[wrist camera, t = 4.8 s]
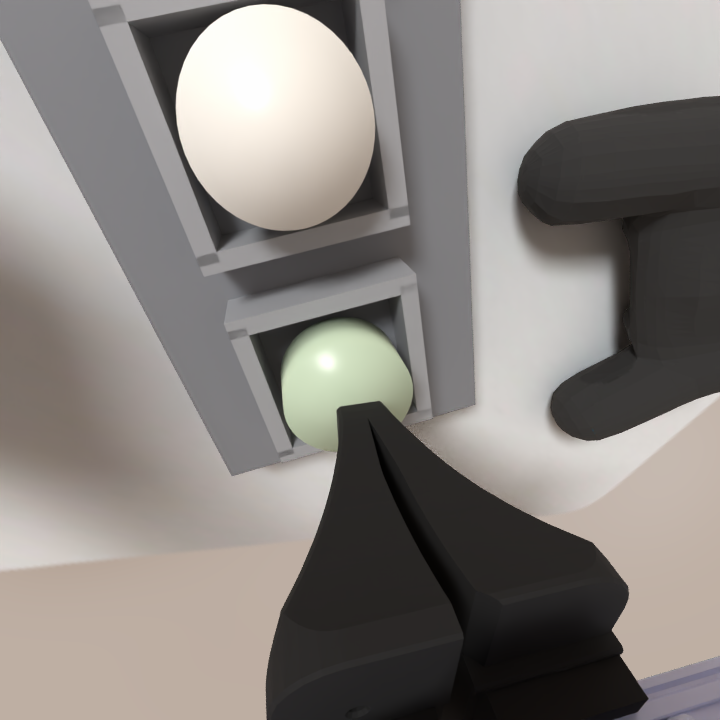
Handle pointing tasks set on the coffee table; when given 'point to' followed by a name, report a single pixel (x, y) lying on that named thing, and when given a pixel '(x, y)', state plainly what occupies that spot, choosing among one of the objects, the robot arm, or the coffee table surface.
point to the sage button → (340, 377)
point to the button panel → (256, 244)
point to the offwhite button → (275, 117)
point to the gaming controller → (641, 252)
